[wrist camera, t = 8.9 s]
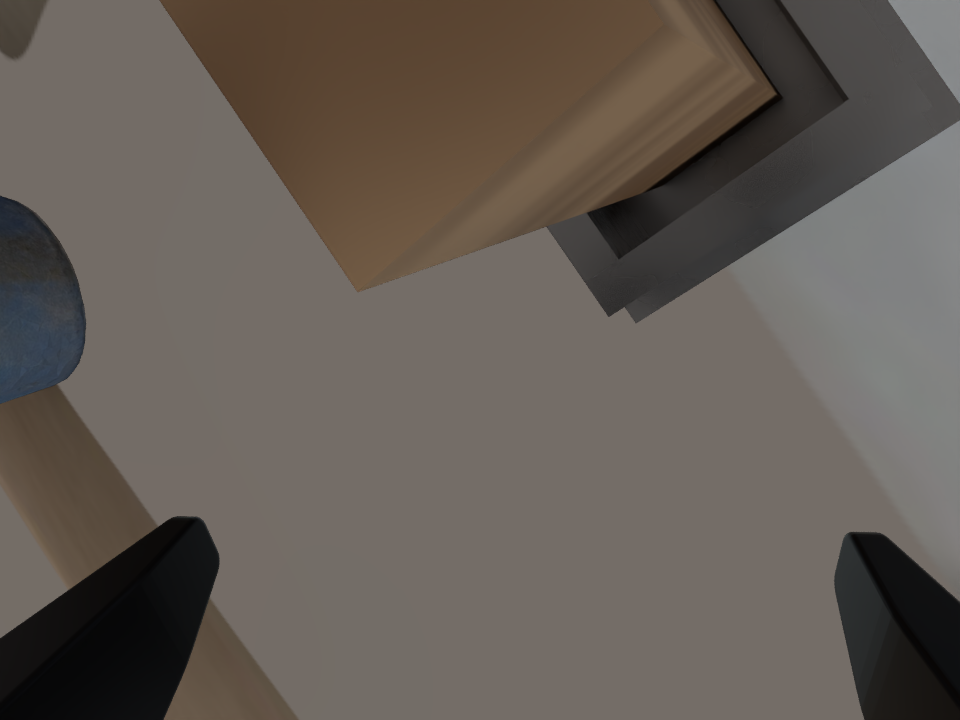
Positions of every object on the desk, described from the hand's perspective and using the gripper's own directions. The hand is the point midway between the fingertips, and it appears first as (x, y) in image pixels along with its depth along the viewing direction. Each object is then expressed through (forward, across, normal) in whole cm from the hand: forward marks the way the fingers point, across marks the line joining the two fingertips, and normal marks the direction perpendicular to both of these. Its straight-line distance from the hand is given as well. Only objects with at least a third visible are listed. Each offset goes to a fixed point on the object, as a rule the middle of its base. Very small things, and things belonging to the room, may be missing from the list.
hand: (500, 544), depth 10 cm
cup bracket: (+13, -4, -3) cm, 14 cm away
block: (+12, -4, -3) cm, 13 cm away
